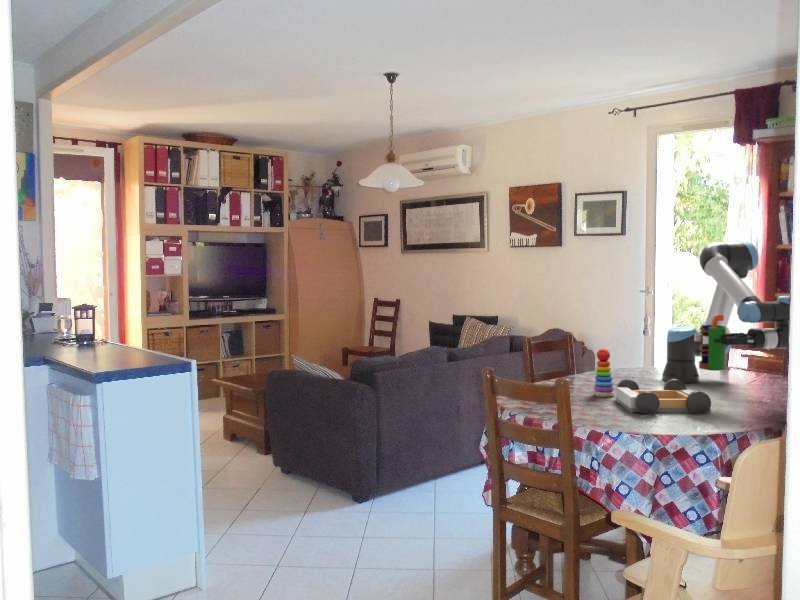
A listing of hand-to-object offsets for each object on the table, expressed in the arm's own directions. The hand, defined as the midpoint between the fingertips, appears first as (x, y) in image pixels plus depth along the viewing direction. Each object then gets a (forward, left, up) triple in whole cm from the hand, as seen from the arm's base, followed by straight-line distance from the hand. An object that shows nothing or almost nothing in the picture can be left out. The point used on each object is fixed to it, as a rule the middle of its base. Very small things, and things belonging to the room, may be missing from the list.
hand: (699, 338), depth 265 cm
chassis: (+2, -14, -25) cm, 29 cm away
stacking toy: (-18, -30, -25) cm, 43 cm away
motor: (0, +5, -11) cm, 12 cm away
